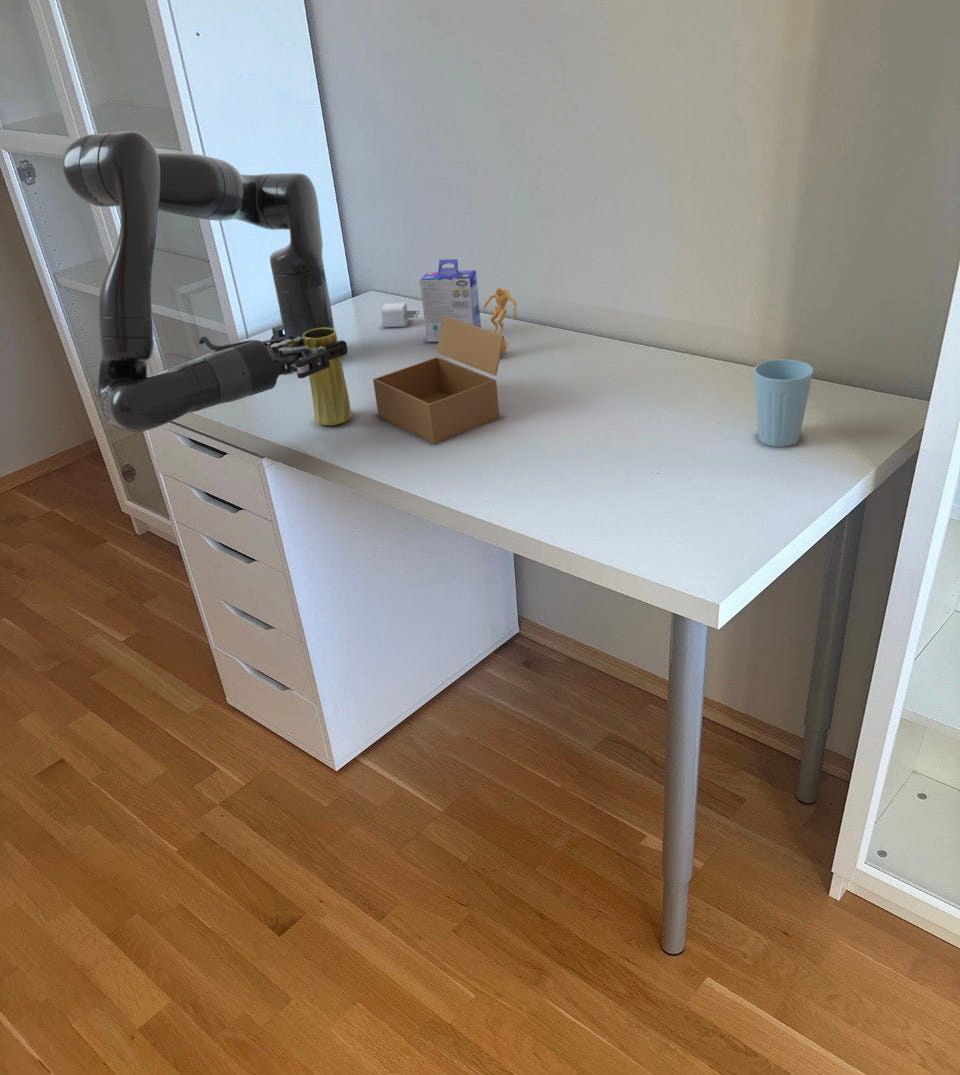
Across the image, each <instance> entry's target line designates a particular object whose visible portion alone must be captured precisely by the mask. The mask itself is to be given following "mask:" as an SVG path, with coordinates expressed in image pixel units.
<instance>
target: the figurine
mask: <svg viewBox="0 0 960 1075" xmlns="http://www.w3.org/2000/svg"><path fill="white" fill-rule="evenodd" d="M494 298H495V302H496V305H497V306H495V307H494V308H493V309H494V310H493V313H492V314H491V317H490V318H489V320H490V322H491V323H492V324H493V325H494V329H493V331H492V332H494V333H497V334H500V335H503V334H502V333H503V331H504V326H505V325H504V322H503V321H504V320H505V317H506V315H507V313H508V311H507V309H506V306H507V303H508V301H510V302H512V304H513V314H512V315H511V317H512V320H514V321H516V319H517V301H516V299H515V298H513V296H511V294H510V291H509V289H506V288H501V287H497V288H496V289H495V293H493V294H490V296H489V297H488V299H487V301H485V303H484V305H483V307H482V310H481V313H483V312H484V309H485V308H486V307H487V306H488V305H489V303H490V302H491V300H492V299H494ZM496 319H497V320H496ZM499 326H500V329H499V331H498V327H499ZM497 331H498V332H497ZM507 348H508V343H507V340H506V338H505V337H504V339H503V345H502V350H501V355H500V357H501V356H503V355H504V354H505V352H506V351H507Z"/></svg>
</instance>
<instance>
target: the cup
mask: <svg viewBox="0 0 960 1075" xmlns="http://www.w3.org/2000/svg"><path fill="white" fill-rule="evenodd" d="M753 373H754V387H755V388H754V390H755V404H756V420H757V422H756V423H757V434H758V435H757V436H758V440H759V442H761V443H762V444H763V445H766V446H769V447H773V448H774V447H775V448H776V447H777V448H784V447H790V446H793V445H795V444H797V443H798V442H799V440H800V438H801V432H802V427H803V422H804V418H805V412H806V408H807V403H808V397H809V393H810V389H811V385H812V384H811V383H812V378H813V374H814V368H813V367H812V365H810V364H809V363H807V362H804V361H801V360H797V359H785V358H784V359H783V358H782V359H778V358H777V359H771V360H770V359H769V360H766V361H762V362H761V363H758V364H756V365H755V367H754V369H753Z"/></svg>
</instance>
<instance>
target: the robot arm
mask: <svg viewBox="0 0 960 1075" xmlns="http://www.w3.org/2000/svg"><path fill="white" fill-rule="evenodd" d="M62 170H63V175H64V177H65V180H66V182H67V184H68V185H69V187H70V189H71V190H72V191H73V192H74V194H76V196H78V197H79V198H80V199H81V200H83V201H84V202H86V203H89V204H91V205H92V206H97V207H101V208H103V207H106V208H107V207H119V211H120V226H119V227H120V228H119V235H118V239H117V243H116V246H115V250H114V253H113V255H112V258H111V260H110V262H109V265H108V267H107V269H106V272H105V274H104V276H103V279H102V282H101V285H100V288H99V294H98V299H97V300H98V301H97V320H98V335H99V346H100V360H99V368H98V378H97V379H98V380H97V402H98V407H99V411H100V414H101V416H102V418H103V419H104V421H105V422H106V423H107V424H108V425H109V426H111V427H113V428H115V429H118V430H121V431H126V432H132V433H141V432H146V431H150V430H153V429H156V428H158V427H161V426H163V425H166V424H168V423H171V422H173V421H175V420H176V419H179V418H181V417H183V416H185V415H187V414H191V413H196V412H199V411H202V410H206V409H208V408H211V407H214V406H217V405H221V404H226V403H227V404H228V403H232V402H236V401H239V400H242V399H245V398H248V397H251V396H254V395H258V394H260V393H264V392H267V391H270V390H273V389H274V388H275V387H276V385H277V381H278V378H279V377H280V376H282V375H283V376H289V375H294V374H295V373H296V375H297V376H296V377H297V378H298V379H304V378H306V377H309V375H311V374H314V373H316V372H318V371H321V370H323V369H325V368H328V367H330V364H329V360H331V359H334V358H337V357H340V358H341V357H343V356H346V355H347V354H348V346H347V342H346V341H345V340H344V339H339V340H337V342H333V343H330V344H327V345H324V346H319V347H313V348H309V347H308V346H304V342H303V333H304V332H306V331H308V330H311V329H315V328H323V327H327V328H333V329H335V322H334V317H333V312H332V306H331V305H332V304H331V299H330V294H329V293H330V292H329V289H328V283H327V276H326V272H325V267H324V259H323V247H324V246H323V244H324V243H323V235H322V226H321V219H320V208H319V201H318V196H317V191H316V187H315V186H314V184H313V181H312V180H311V178H310V177H309V176H308V175H307V174H305V173H299V172H289V173H284V172H283V173H282V172H281V173H261V174H240V172H239V170H238V169H237V168H236V167H235V166H234V165H232V164H230V162H228V161H226V160H224V159H223V160H222V159H219V158H217V157H213V156H208V155H204V154H199V153H187V152H157V150H156V148H155V146H154V144H153V143H152V142H151V141H150V139H148V137H146V136H145V135H144V134H142V133H140V132H138V131H132V130H129V131H128V130H127V131H114V132H106V133H105V132H104V133H92V134H91V133H90V134H87V135H84V136H82V137H80V138H78V139H76V140H74V141H73V142H72V143H71V144H70V145H69V146H68V147H67V148H66V151H65V152H64V155H63V160H62ZM160 211H161V212H164V213H165V212H166V213H170V214H175V215H179V216H185V217H189V218H194V219H201V220H208V221H221V222H223V221H224V222H225V221H232V220H237V221H242V222H244V223H247V224H251V225H254V226H256V227H259V228H261V229H266V230H271V231H272V230H273V231H274V230H278V231H279V230H280V231H281V230H284V231H286V230H289V236H290V237H289V238H290V242H289V244H287V245H285V246H283V247H281V248H279V249H277V250H275V251H273V252H272V253H271V254H270V257H269V264H270V268H271V273H272V279H273V283H274V289H275V293H276V298H277V303H278V308H279V313H280V320H281V325H277V326H273V327H271V331H272V336H271V337H270V339H267V340H262V341H261V340H257V339H254V340H253V339H251V340H250V339H249V340H244V341H243V340H242V341H239V342H235V343H231V344H226V345H225V344H224V345H215V344H213V343H212V342H210V339H209V338H208V337H207V336H205V335H203V336H201V337H200V339H199V342H198V344H199V345H203V344H205V346H206V347H207V348H208V349H210V350H212V351H214V352H212V353H210V354H208V355H206V356H204V357H200V358H197V359H193V360H190V361H187V362H184V363H179V364H177V365H175V366H172V367H170V368H169V369H168V370H167V371H166V372H162V373H158V374H155V375H151V376H148V362H149V361H150V360H151V359H152V358H153V354H154V326H153V324H154V323H153V306H152V286H153V284H152V282H153V269H154V261H155V252H156V251H155V250H156V243H157V235H158V224H159V213H160ZM312 353H314V354H312ZM318 358H319V359H318Z"/></svg>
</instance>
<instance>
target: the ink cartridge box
mask: <svg viewBox="0 0 960 1075" xmlns="http://www.w3.org/2000/svg"><path fill="white" fill-rule="evenodd" d="M458 261H459V259H458V258H455V259H439V262H438V269H437V270H438V271H430V272H426V273H425V274H424V275H423V276H422V277H421V279H419V285H420V293H421V303H422V312H423V319H424V320H423V321H424V327H425V337H426V343H438V342H439V336H440V330H441V325H442V319H443V316H447V317H450V318H453V319H456V320H459V321H462V322H465V323H468V324H470V325H473V326H476V327H479V328H482V322H481V311H480V310H481V309H480V302H479V301H480V300H479V290H478V279H477V278H478V277H477V271H476V270H475V269H472V270H468V269H467V270H459V262H458ZM446 264H450V265H454V266H453V267H443V266H444V265H446Z"/></svg>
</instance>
